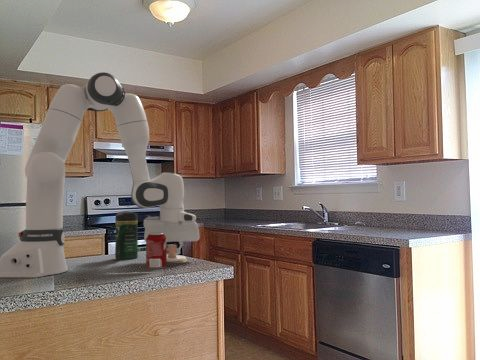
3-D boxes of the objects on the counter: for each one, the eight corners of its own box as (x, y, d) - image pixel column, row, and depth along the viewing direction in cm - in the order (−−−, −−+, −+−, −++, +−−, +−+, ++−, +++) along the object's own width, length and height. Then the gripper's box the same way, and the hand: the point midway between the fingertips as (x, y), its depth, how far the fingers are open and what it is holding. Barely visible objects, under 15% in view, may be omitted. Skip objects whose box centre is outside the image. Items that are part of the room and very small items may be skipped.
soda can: (162, 270, 139) (161, 234, 140) (142, 270, 141) (142, 234, 141) (169, 267, 146) (169, 232, 146) (151, 266, 147) (151, 232, 148)
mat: (158, 264, 151) (158, 263, 151) (159, 260, 161) (159, 258, 161) (186, 263, 153) (186, 262, 153) (186, 259, 163) (186, 257, 163)
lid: (157, 262, 151) (157, 247, 151) (159, 257, 161) (159, 243, 161) (185, 261, 152) (185, 246, 153) (185, 257, 162) (185, 243, 163)
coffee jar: (140, 260, 162) (140, 211, 163) (119, 261, 158) (119, 212, 159) (133, 256, 171) (133, 210, 171) (113, 258, 167) (113, 211, 167)
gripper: (142, 217, 153) (142, 255, 153) (199, 216, 155) (199, 254, 155) (144, 216, 159) (144, 253, 159) (199, 215, 162) (199, 252, 161)
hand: (172, 253), depth 157 cm, fingers closed on lid, 3 cm apart
